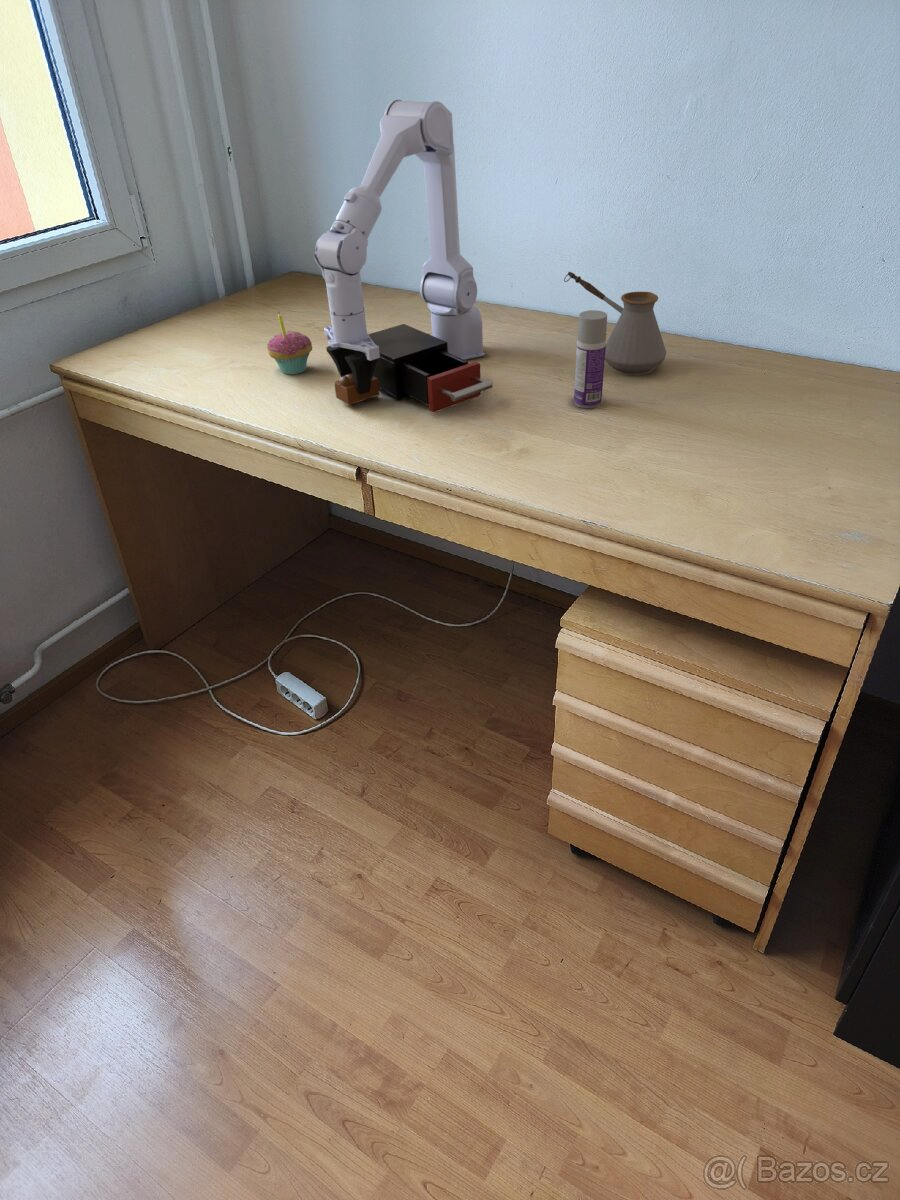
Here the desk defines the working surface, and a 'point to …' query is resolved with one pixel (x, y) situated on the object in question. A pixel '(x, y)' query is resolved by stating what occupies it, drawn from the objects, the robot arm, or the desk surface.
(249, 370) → the desk surface
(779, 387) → the desk surface
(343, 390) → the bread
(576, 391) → the container
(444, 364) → the drawer
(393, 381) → the black rectangular box
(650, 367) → the coffee pot
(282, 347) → the cupcake
